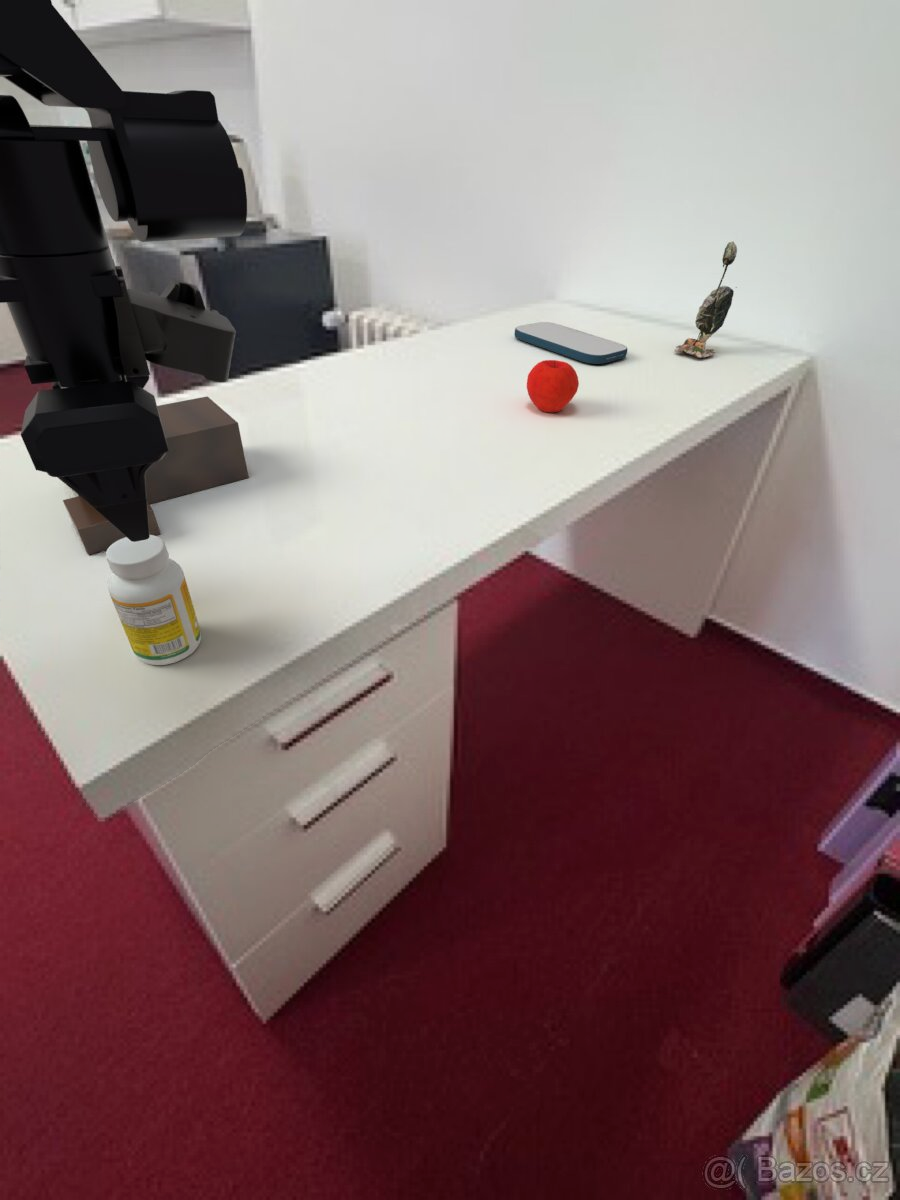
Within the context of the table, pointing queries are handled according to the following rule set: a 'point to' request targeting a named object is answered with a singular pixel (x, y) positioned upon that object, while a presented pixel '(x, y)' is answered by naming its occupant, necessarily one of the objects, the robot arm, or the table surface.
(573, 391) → the apple
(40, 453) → the robot arm
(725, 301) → the plant with pod
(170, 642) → the supplement bottle
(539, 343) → the external hard drive
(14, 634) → the table surface
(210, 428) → the step shelf
